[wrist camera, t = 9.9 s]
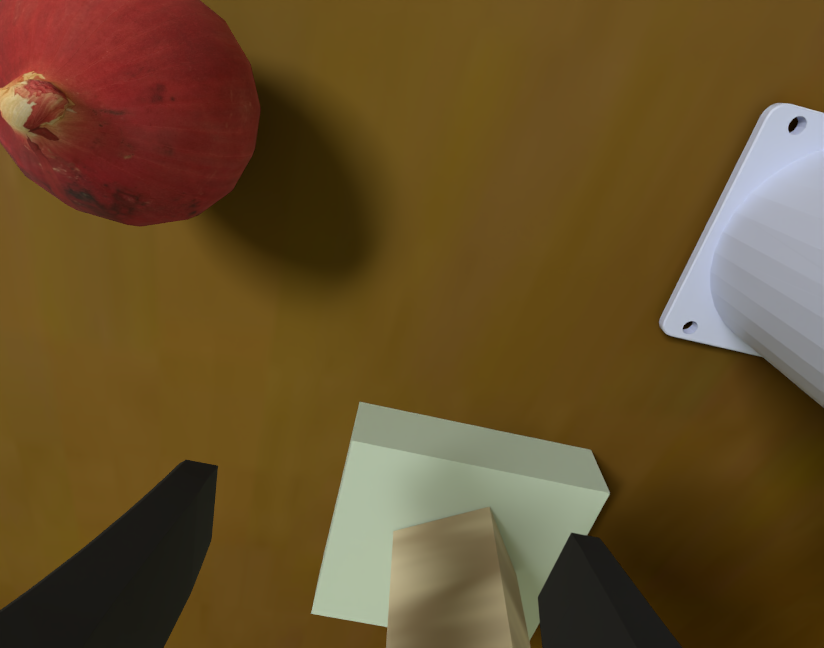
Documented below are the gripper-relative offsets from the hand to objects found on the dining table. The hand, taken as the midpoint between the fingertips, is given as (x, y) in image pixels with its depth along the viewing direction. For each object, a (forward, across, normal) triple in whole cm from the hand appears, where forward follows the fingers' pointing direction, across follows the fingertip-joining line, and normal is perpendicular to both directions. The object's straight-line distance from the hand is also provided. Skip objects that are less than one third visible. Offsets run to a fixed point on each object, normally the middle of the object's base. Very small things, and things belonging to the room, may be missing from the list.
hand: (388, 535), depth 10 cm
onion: (+10, +8, -6) cm, 14 cm away
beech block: (+7, -4, +9) cm, 12 cm away
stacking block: (+10, -4, +9) cm, 14 cm away
